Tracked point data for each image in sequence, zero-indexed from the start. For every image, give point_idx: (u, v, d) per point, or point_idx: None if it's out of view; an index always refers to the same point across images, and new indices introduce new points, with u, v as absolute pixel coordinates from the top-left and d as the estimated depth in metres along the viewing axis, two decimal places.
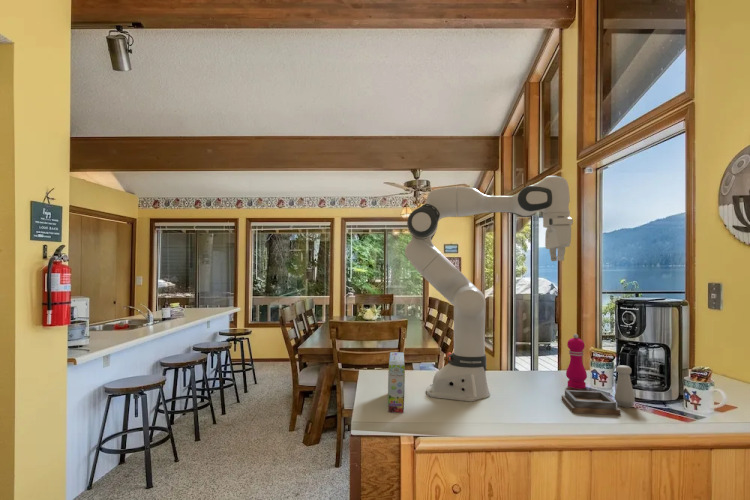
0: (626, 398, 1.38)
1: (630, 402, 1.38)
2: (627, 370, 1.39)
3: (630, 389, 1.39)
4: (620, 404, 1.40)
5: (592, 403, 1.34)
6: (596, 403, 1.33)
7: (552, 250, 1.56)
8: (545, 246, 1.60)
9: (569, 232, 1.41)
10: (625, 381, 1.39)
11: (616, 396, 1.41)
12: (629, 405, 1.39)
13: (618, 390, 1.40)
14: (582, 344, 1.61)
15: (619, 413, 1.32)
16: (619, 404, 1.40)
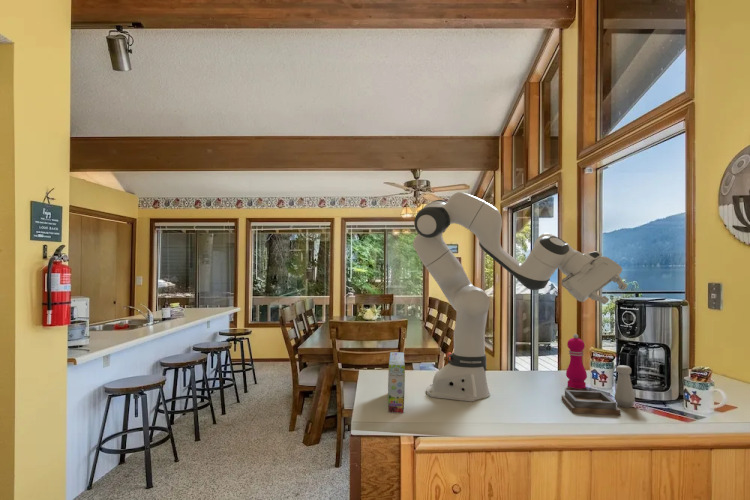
0: (626, 398, 1.38)
1: (630, 402, 1.38)
2: (627, 370, 1.39)
3: (630, 389, 1.39)
4: (620, 404, 1.40)
5: (592, 403, 1.34)
6: (596, 403, 1.33)
7: None
8: (584, 293, 1.31)
9: None
10: (625, 381, 1.40)
11: (616, 396, 1.41)
12: (629, 405, 1.39)
13: (618, 390, 1.40)
14: (582, 344, 1.61)
15: (619, 413, 1.32)
16: (619, 404, 1.40)
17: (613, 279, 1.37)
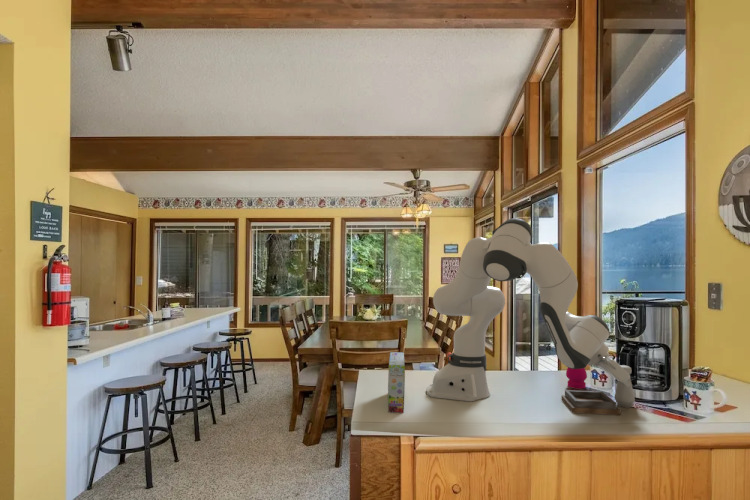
0: (626, 399, 1.38)
1: (630, 402, 1.38)
2: (627, 370, 1.39)
3: (630, 389, 1.39)
4: (620, 404, 1.40)
5: (592, 403, 1.34)
6: (596, 403, 1.33)
7: None
8: (628, 373, 1.32)
9: None
10: None
11: (616, 396, 1.41)
12: (629, 405, 1.39)
13: (618, 390, 1.40)
14: None
15: (619, 413, 1.32)
16: (619, 404, 1.40)
17: None
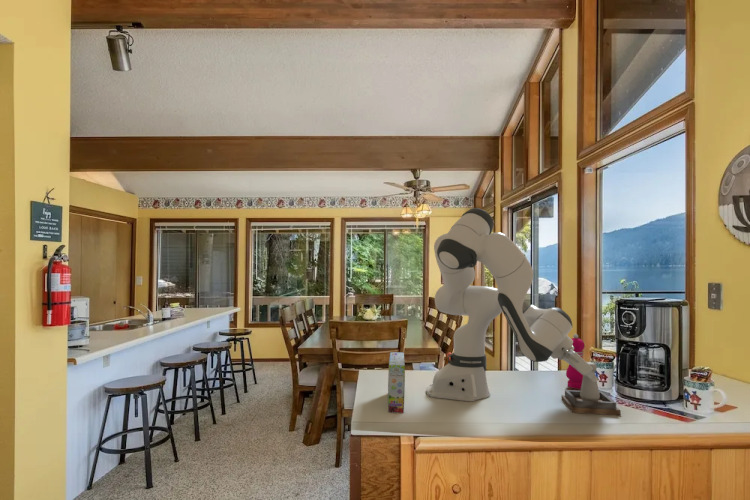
0: (591, 396, 1.36)
1: (595, 399, 1.36)
2: (592, 367, 1.37)
3: (595, 386, 1.37)
4: None
5: (592, 403, 1.34)
6: (596, 403, 1.33)
7: None
8: None
9: None
10: None
11: (581, 393, 1.39)
12: None
13: (583, 387, 1.39)
14: (582, 344, 1.61)
15: (619, 413, 1.32)
16: None
17: None
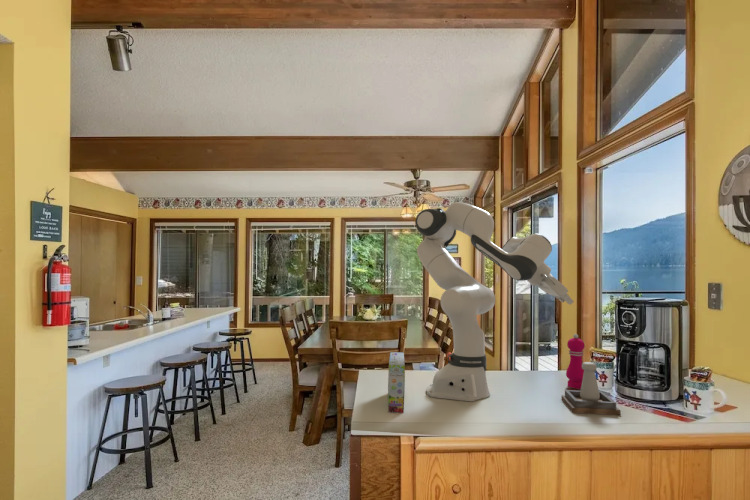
0: (591, 396, 1.36)
1: (595, 399, 1.36)
2: (592, 367, 1.37)
3: (595, 386, 1.37)
4: None
5: (592, 403, 1.34)
6: (596, 403, 1.33)
7: None
8: (566, 288, 1.43)
9: None
10: (590, 378, 1.38)
11: (581, 393, 1.39)
12: None
13: (583, 387, 1.39)
14: (582, 344, 1.61)
15: (619, 413, 1.32)
16: None
17: None
